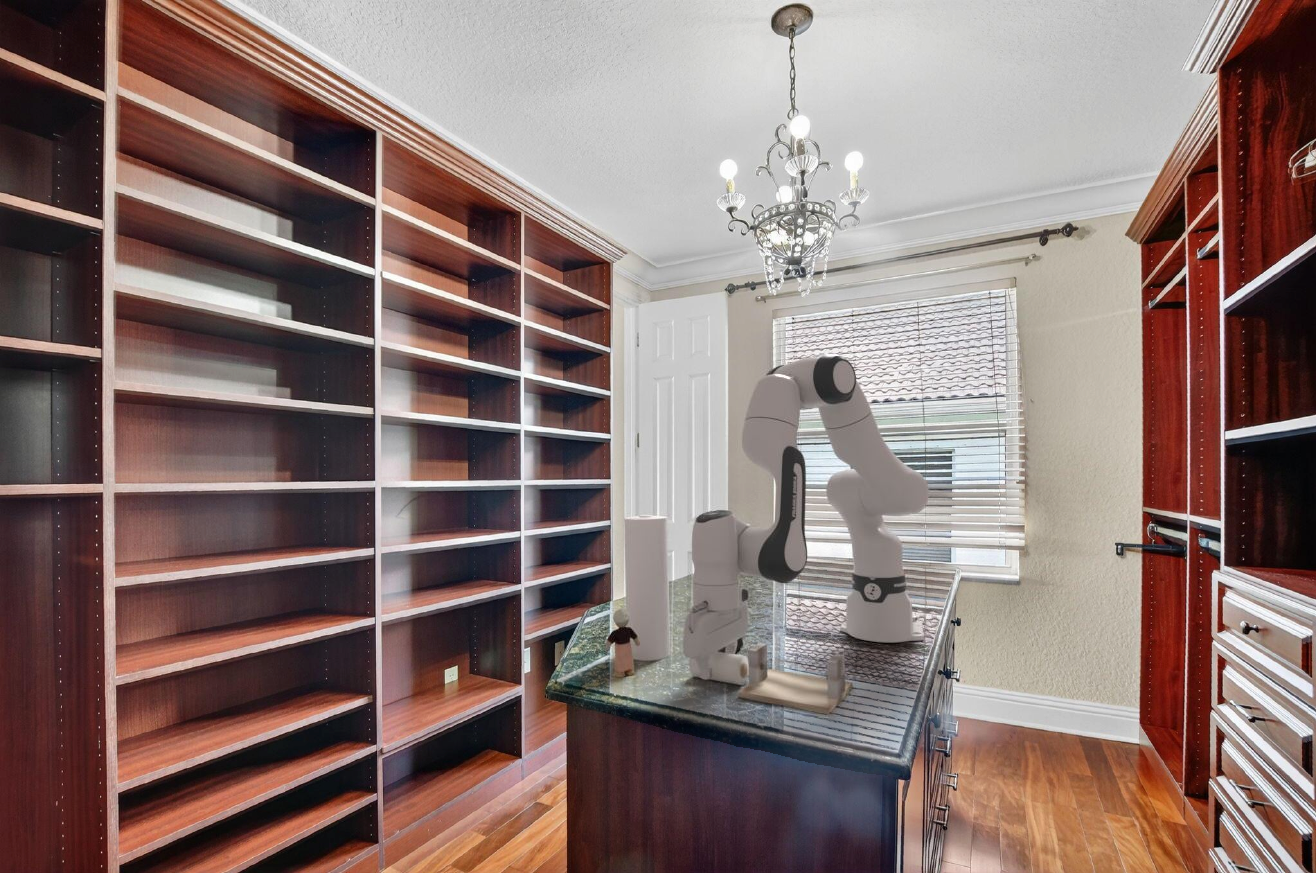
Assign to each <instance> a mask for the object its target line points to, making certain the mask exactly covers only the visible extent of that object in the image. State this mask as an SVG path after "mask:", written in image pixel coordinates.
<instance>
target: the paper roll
mask: <svg viewBox="0 0 1316 873" xmlns="http://www.w3.org/2000/svg"><path fill="white" fill-rule="evenodd" d="M688 663H689V664H688V667H689V672H690V675H691V677H693V678H694V677H695V678H699V679H701V677H700V669H699V666H698V664H697V662H696V659H690V658H689V662H688ZM708 663H709V666H710V668H712V677H711V678H709V679H708V680H709V681H718V682H721V683H727V684H731V685H733V684H734V685H739V686H743V685H744V684H746V683H747V681H748V678H749V666H748V656H746V655H742V654H736V653H735V654H730V653H723V652H717V651H716V652H714V653H713V654H711V655H710V660H709V661H708ZM742 684H743V685H742Z"/></svg>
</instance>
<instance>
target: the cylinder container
mask: <svg viewBox="0 0 1316 873" xmlns="http://www.w3.org/2000/svg"><path fill="white" fill-rule="evenodd" d="M623 518H624V559H625V562H624V563H625V564H624V566H625V567H624V568H625V569H624V570H625V606H626V607H625V610H627V612H628V614H629V615H630V618H629V619H630V620H629V621H628V624H627V626H626V627H630V628H632V629H633V631H634V632H635V633H636V634H637V637H638V639H639V641H640V645H639V646H636V645H635V642H634V640H633V639H631V638H630V643H631V649H632V655H633V660H636V661H642V662H643V661H645V662H646V661H658V660H662V659H663V660H664V659H666V658H668V657H670V656H671V629H670V628H671V626H670V622H671V620H670V619H671V618H670V617H671V616H670V583H669V582H670V580H669V579H670V578H669V577H670V576H669V573H670V571H669V541H668V538H669V537H668V532H669V531H668V528H669V527H668V516H663V515H653V514H639V515H636V516H633V515H632V516H627V517H623Z"/></svg>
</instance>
